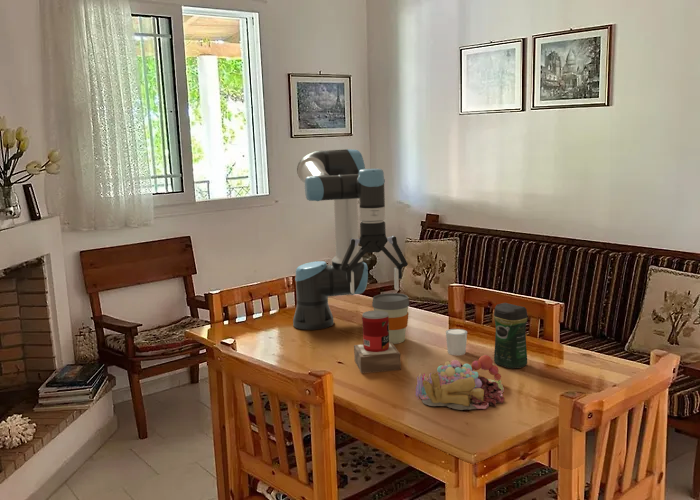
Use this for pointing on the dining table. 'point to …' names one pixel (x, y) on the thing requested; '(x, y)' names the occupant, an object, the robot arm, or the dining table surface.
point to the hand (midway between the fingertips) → (374, 291)
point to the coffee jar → (510, 335)
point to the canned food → (375, 331)
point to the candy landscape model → (461, 386)
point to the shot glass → (456, 341)
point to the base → (377, 359)
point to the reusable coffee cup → (394, 313)
